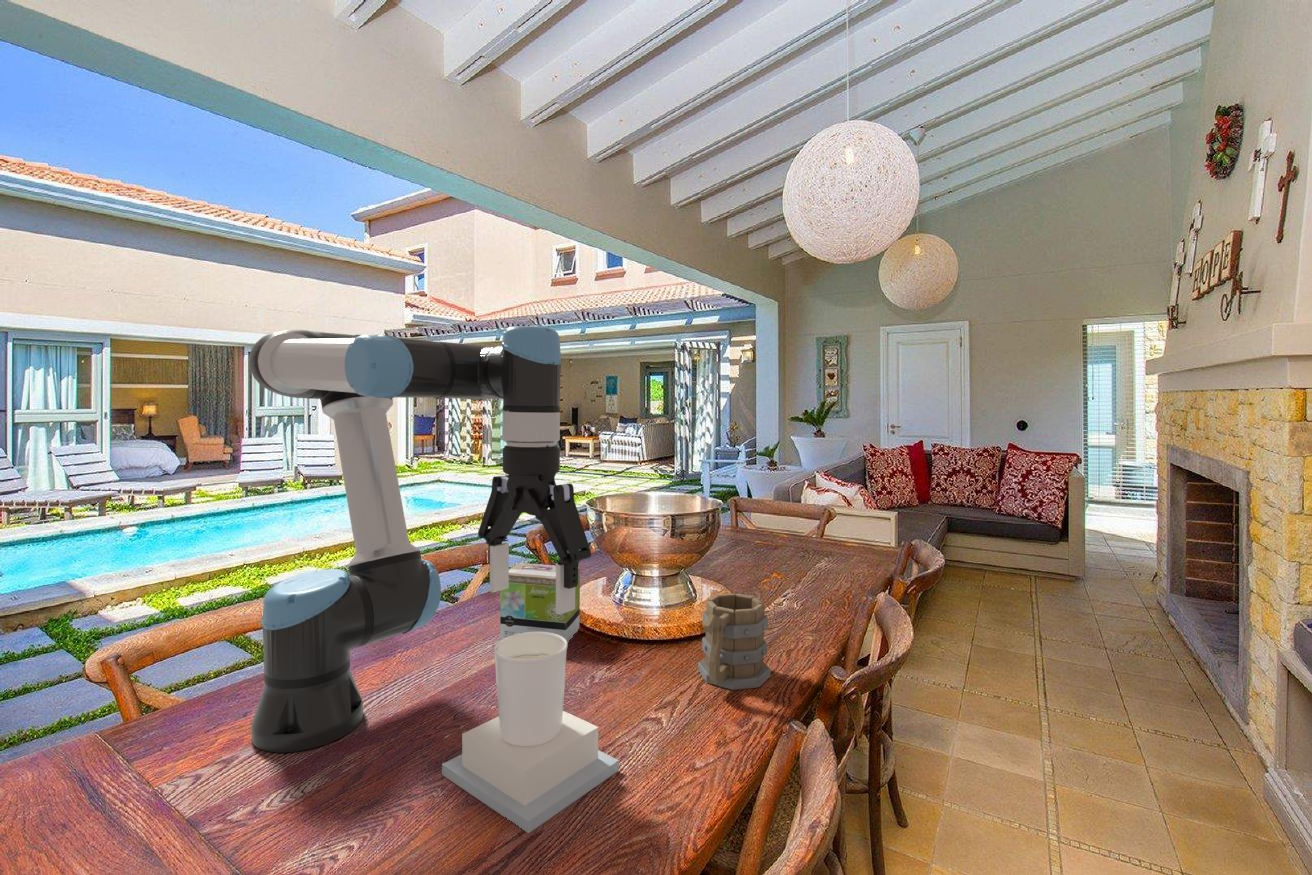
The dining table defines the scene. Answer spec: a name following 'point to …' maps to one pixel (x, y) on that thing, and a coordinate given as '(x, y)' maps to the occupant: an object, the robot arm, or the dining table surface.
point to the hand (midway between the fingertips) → (530, 600)
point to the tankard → (734, 642)
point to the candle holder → (530, 687)
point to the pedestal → (530, 770)
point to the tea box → (535, 603)
